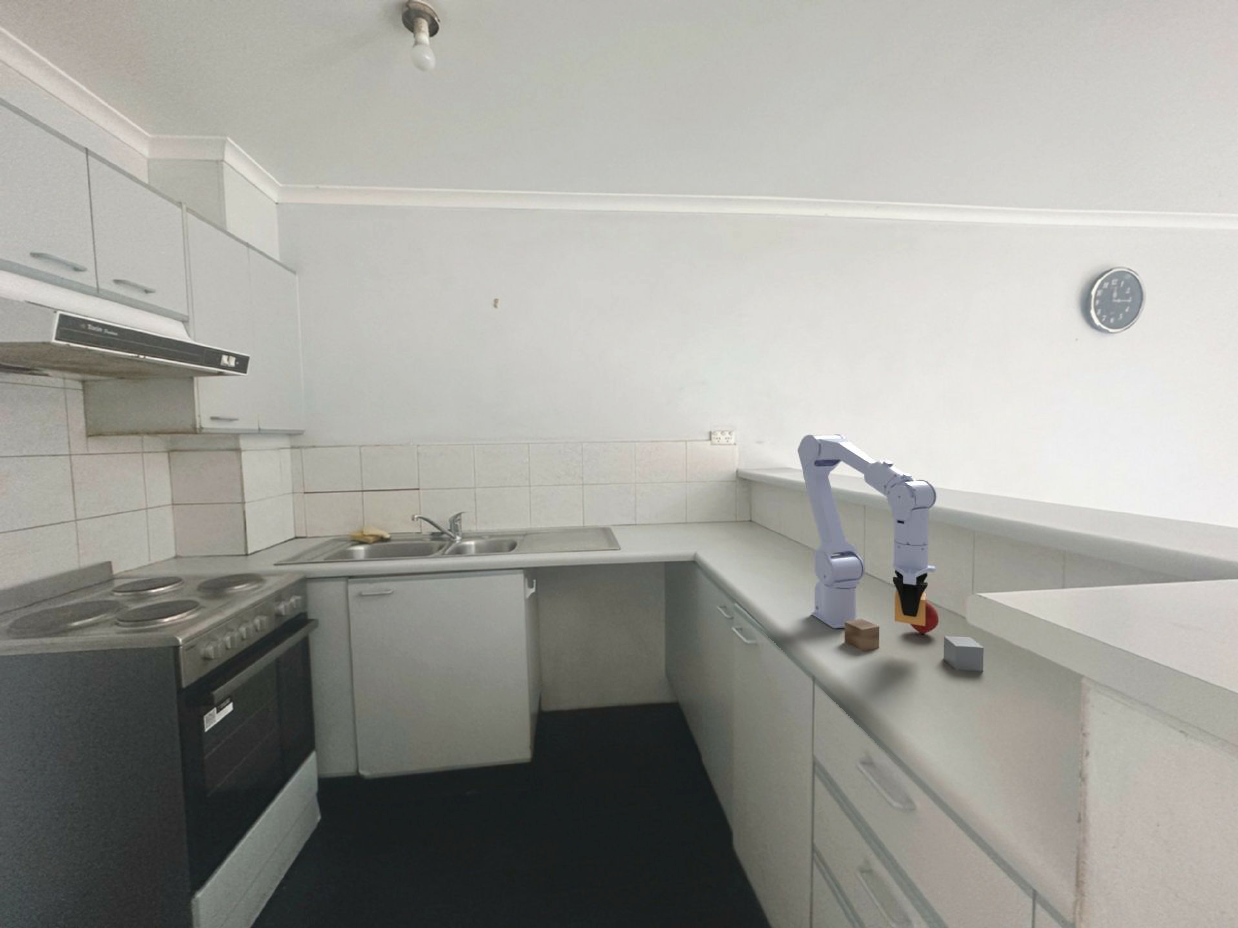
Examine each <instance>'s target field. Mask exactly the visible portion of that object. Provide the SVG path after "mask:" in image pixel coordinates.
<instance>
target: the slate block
mask: <svg viewBox="0 0 1238 928" xmlns="http://www.w3.org/2000/svg"><path fill="white" fill-rule="evenodd" d="M984 650H985V649H984V646H982V645H981V644H980V643H979V642H977V641H975V639H973V638H972V637H971V636H955V635H954V636H951V635H944V636H943V659H944V660H945V661H946V662H947V663H948V664H949V665H950V666H952V668H953V669H954V670H957V671H973V672H974V671H976V672H984Z"/></svg>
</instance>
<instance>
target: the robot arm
mask: <svg viewBox="0 0 1238 928" xmlns="http://www.w3.org/2000/svg"><path fill="white" fill-rule="evenodd" d="M797 454H798V457H799V461H800V465H801V468H802V475H803V479H804V480H803V481H804V483H805V487H806V492H807V495H808V499H809V503H810V505H811V506H810V507H811V510H812V515H813V518H814V521H815V525H816V529H817V533H818V538H819V541H820V545H819V546H818V548H817V549H816V550H815V551H814V553H813V557H814V573H815V576H816V577H817V579H818V581H817V583H815V586H814V611H811V613H810V614H811V615H812V616H814V617H815V618H817V619H819V620H820V621H822V622H823V623H825V624H826V625H828V626H829V627H831V628H832V629H845V622H846V621H851V620H857V619H858V618H857V610H858V608H857V607H858V605H857V602H858V601H857V598H858V596H857V595H858V593H857V591H858V585H859V584H860V580H862V579H863V577H865V574H866V567H865V562H864V561H863V559H862V558H861V556H860V555H859V553H858V549H857V547H856V546H855V545H853V544H852V543H850V542H849V541H848V540H847V539H846V536H845V534H844V533H845V532H844V529H843V526H842V522H841V518H840V515H839V512H838V511H839V510H838V507H837V504H836V500H835V496H834V493H833V489H832V486H831V483H830V479H829V475H830V474H831V472H832V471H834V470H835V469H836V468H837V467H838V466H839V464H841V462H842V463H844V464H846V465H848V466H849V467H851V468H853V469H854V470H856V471H858V472H859V473H860V474H862V475H863V478H864V481H865V483H866V484H868V485H869V486H870V487H872V488H873V489H874V490H876V491H877V492H879V493H880V494H881V495H883V496H885V497H886V501H887V503H888V505H889V507H890V508H891V515H892V517H893V520H894V523H893V527H894V528H893V530H894V531H893V562H892V568H893V569H894V574H895V575H896V576H892V577H893V578H892V582H893V585H894V587H895V590H896V589H897V591H898V594H899V597H900V602H901V608H902V612H903V615H905V616H912V617H916V616H917V613H918V608H919V603H920V599H921V596H922V594H923V593H925V590H926V589H927V587H928V582H925V581H926V578H927V577H928V573H929V572H932V573H936V567H935V566H934V565H929V530H930V529H929V527H930V525H929V520H930V519H929V516H930V508H932V507H933V506H935V504H936V501H937V491H936V489H935V487H934V486H933V485H932V484H931V483H930V482H929V481H928V480H926V479H916V480H915V479H914V478H913V477H912V475H910V474H909V473H904V472H903V471H901V470H900V469H898V468H897V467H895V466H893V465H894V462H892V461H890V460H877V461H875V460H874V459H872V458H871V457H869V456H868V455H867V454H866V453H864V452H863V451H862V450H860V448H858V447H857V446H855V445H853V444H852V443H851V440H850V439H849V438H847V437H845V436H844V435H842V434H838V433H837V434H824V435H823V434H819V435H817V434H816V435H813V434H807V435H805V436H803V437H802V439H801V441H800V442H799V445H798V447H797Z"/></svg>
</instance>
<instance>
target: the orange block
mask: <svg viewBox="0 0 1238 928" xmlns="http://www.w3.org/2000/svg"><path fill="white" fill-rule="evenodd" d="M926 598H927V597H926V592H923V594H922V596H921V599H920V603H919V608H918V613H917V616H916V617H912V616H905V615H903V612H902V608H901V602H900V597H899V594H898V591H897V589H896V588H895V594H894V622H898V623H904V624H909V625H910V624H915V625H921V626H925V602H927V600H926Z"/></svg>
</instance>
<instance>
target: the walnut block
mask: <svg viewBox="0 0 1238 928" xmlns="http://www.w3.org/2000/svg"><path fill="white" fill-rule="evenodd" d="M844 643H845V644H847V645H848V646H851V647H853V648H854V649H857V650H859V651H861V652H865V651H870V650H875V649H879V648H880V626H879V625H877V624H874V623H872V622H870V621H867V620H865V619H863V618H859V619H858V618H857V620H851V621H846V622H845V628H844Z"/></svg>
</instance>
